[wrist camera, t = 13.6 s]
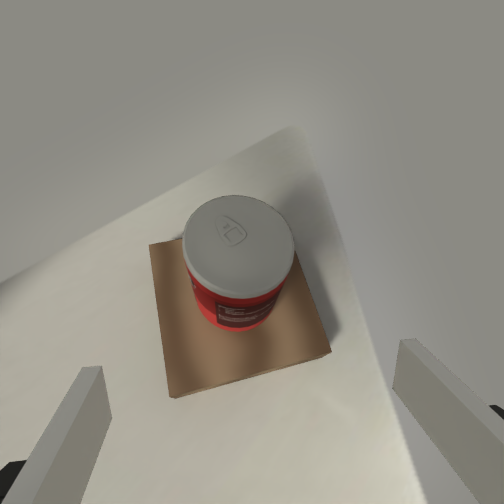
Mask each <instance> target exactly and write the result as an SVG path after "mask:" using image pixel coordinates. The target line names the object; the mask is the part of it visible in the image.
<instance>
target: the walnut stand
mask: <svg viewBox="0 0 504 504" xmlns="http://www.w3.org/2000/svg"><path fill="white" fill-rule="evenodd" d="M149 251H150V258H151V265H152V273H153V280H154V287H155V295H156V302H157V309H158V317H159V324H160V331H161V338H162V346H163V353H164V360H165V368H166V375H167V382H168V390H169V397H171V398H175V399H176V398H179V397H183V396H186V395H190V394H194V393H197V392H201V391H204V390H208V389H211V388H215V387H218V386H222V385H226V384H229V383H233V382H236V381H240V380H243V379H247V378H251V377H254V376H258V375H261V374H265V373H268V372H272V371H275V370H279V369H283V368H286V367H290V366H293V365H297V364H300V363H304V362H308V361H311V360H315V359H318V358H322V357H324V356H325V355H327V354H329V353H331V352H332V351H331V348H330V345H329V342H328V340H327V337H326V334H325V331H324V329H323V326H322V323H321V321H320V318H319V315H318V312H317V310H316V307H315V304H314V301H313V299H312V296H311V293H310V290H309V288H308V285H307V282H306V279H305V277H304V274H303V271H302V268H301V266H300V263H299V260H298V257H297V255H296V252H295V250H294V257H293V263H292V266H291V268H290V271H289V273H288V276H287V279H286V281H285V283H284V285H283V287H282V289H281V292H280V294H279V296H278V298H277V300H276V302H275V305H274V307H273V309H272V311H271V313H270V314H269V316H268V317H267V318H266V319H265V320H264V321H263V322H262V323H261V324H260V325H258V326H257V327H255V328H252V329H250V330H247V331H241V332H235V331H228V330H224V329H221V328H219V327H217V326H215V325H214V324H212V323H211V322H209V321H208V320H207V319H206V318H205V316H204V315H203V314H202V312H201V311H200V309H199V307H198V304H197V301H196V298H195V295H194V292H193V288H192V285H191V281H190V278H189V275H188V271H187V268H186V265H185V260H184V256H183V249H182V239H177V240H172V241H167V242H161V243H156V244H151V245H149Z"/></svg>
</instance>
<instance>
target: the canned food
mask: <svg viewBox="0 0 504 504" xmlns="http://www.w3.org/2000/svg"><path fill="white" fill-rule="evenodd" d="M182 249H183V256H184V260H185V265H186V268H187V271H188V275H189V278H190V281H191V285H192V288H193V292H194V295H195V298H196V301H197V304H198V307H199V309H200V311H201V312H202V314H203V315H204V316H205V318H206V319H207V320H208V321H209V322H211V323H212V324H214V325H215V326H217V327H219V328H221V329H224V330H228V331H235V332H241V331H247V330H250V329H252V328H255V327H257V326H258V325H260V324H261V323H262V322H263V321H264V320H265V319H266V318H267V317H268V316H269V314H270V313H271V311H272V309H273V307H274V305H275V302H276V300H277V298H278V296H279V294H280V292H281V289H282V287H283V285H284V283H285V281H286V279H287V276H288V273H289V271H290V268H291V266H292V263H293V257H294V250H295V248H294V239H293V236H292V232H291V230H290V228H289V226H288V224H287V222H286V221H285V220H284V218H283V217H282V216H281V215H280V214H279V213H278V212H277V211H276V210H275V209H274V208H272V207H271V206H269V205H268V204H266V203H264V202H262V201H260V200H257V199H255V198H251V197H247V196H239V195H230V196H222V197H219V198H215V199H212V200H210V201H208V202H206V203H204V204H203V205H202V206H200V207H199V208H198V209H197V210H196V211H195V212H194V213H193V214H192V215H191V216H190V218H189V220H188V221H187V223H186V225H185V229H184V232H183V239H182Z"/></svg>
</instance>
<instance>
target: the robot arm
mask: <svg viewBox="0 0 504 504" xmlns="http://www.w3.org/2000/svg"><path fill="white" fill-rule="evenodd" d="M392 389H393V390H394V391H395V392H396V394H397V395H398V397H399V398H400V399H401V401H402V402H403V403H404V405H405V406H406V407H407V408H408V410H409V411H410V412H411V414H412V415H413V416H414V418H415V419H416V420H417V422H418V423H419V424H420V426H421V427H422V428H423V430H424V431H425V432H426V434H427V435H428V436H429V437H430V439H431V440H432V441H433V443H434V444H435V445H436V447H437V448H438V449H439V450H440V452H441V453H442V455H443V456H444V457H445V459H446V460H447V461H448V462H449V464H450V465H451V467H452V468H453V469H454V470H455V472H456V473H457V474H458V476H459V477H460V478H461V480H462V481H463V482H464V484H465V485H466V486H467V488H468V489H469V490H470V492H471V493H472V494H473V495H474V497H475V498H476V499H477V501H478V502H479V503H480V504H504V410H503V409H502V408H500V407H498V406H497V405H490V406H488V405H487V404H486V403H485V402H484V401H483V400H482V399H481V398H479V397H478V396H477V395H476V394H475V393H474V392H473V391H472V390H471V389H470V388H469V387H468V386H466V385H465V384H464V383H463V382H462V381H461V380H460V379H459V378H458V377H457V376H456V375H454V374H453V373H452V372H451V371H450V370H449V369H448V368H447V367H446V366H445V365H444V364H443V363H441V362H440V361H439V360H438V359H437V358H436V357H435V356H434V355H433V354H432V353H431V352H430V351H429V350H427V349H426V348H425V347H424V346H423V345H422V344H421V343H420V342H419V341H418V340H417V339H405V340H400V344H399V351H398V357H397V363H396V370H395V376H394V382H393V388H392ZM111 420H112V415H111V410H110V405H109V400H108V395H107V390H106V384H105V379H104V374H103V369H102V366H93V367H82V369H81V371H80V372H79V374H78V376H77V377H76V379H75V381H74V382H73V384H72V386H71V387H70V389H69V391H68V392H67V394H66V396H65V397H64V399H63V401H62V402H61V404H60V406H59V407H58V409H57V411H56V413H55V414H54V416H53V418H52V419H51V421H50V423H49V424H48V426H47V428H46V429H45V431H44V433H43V434H42V436H41V438H40V439H39V441H38V443H37V444H36V446H35V448H34V449H33V451H32V453H31V454H30V456H29V458H28V460H24V461H15V462H9V463H8V464H7V465H6V466H5V467H4V468H3V469H2V470H1V471H0V504H80V503H81V500H82V497H83V495H84V492H85V489H86V487H87V484H88V481H89V479H90V476H91V473H92V471H93V468H94V465H95V463H96V460H97V457H98V454H99V452H100V449H101V446H102V444H103V441H104V438H105V436H106V433H107V430H108V428H109V425H110V422H111Z"/></svg>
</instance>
